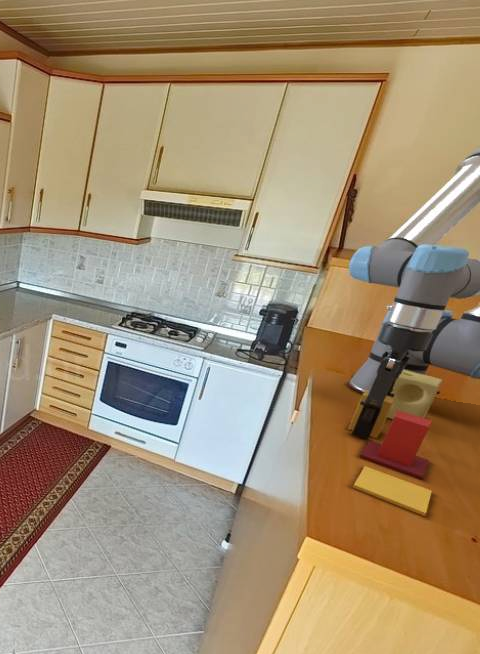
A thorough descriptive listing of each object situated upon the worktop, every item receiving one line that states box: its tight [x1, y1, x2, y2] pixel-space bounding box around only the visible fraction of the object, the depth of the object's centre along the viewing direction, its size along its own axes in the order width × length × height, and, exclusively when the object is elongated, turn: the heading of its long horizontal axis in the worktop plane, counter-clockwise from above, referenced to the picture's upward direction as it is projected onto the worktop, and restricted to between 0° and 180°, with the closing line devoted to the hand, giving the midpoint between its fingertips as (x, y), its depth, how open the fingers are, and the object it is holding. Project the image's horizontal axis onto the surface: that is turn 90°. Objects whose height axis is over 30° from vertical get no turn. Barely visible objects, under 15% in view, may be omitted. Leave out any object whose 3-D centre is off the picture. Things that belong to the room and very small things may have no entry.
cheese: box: [386, 370, 443, 420], centre depth 112 cm, size 10×11×10 cm
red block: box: [377, 410, 432, 466], centre depth 89 cm, size 5×5×8 cm
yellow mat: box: [352, 465, 433, 517], centre depth 79 cm, size 10×9×1 cm
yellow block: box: [347, 390, 395, 439], centre depth 101 cm, size 5×5×8 cm
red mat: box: [359, 439, 430, 480], centre depth 90 cm, size 10×9×1 cm
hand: (364, 429), depth 102 cm, fingers open, 9 cm apart
